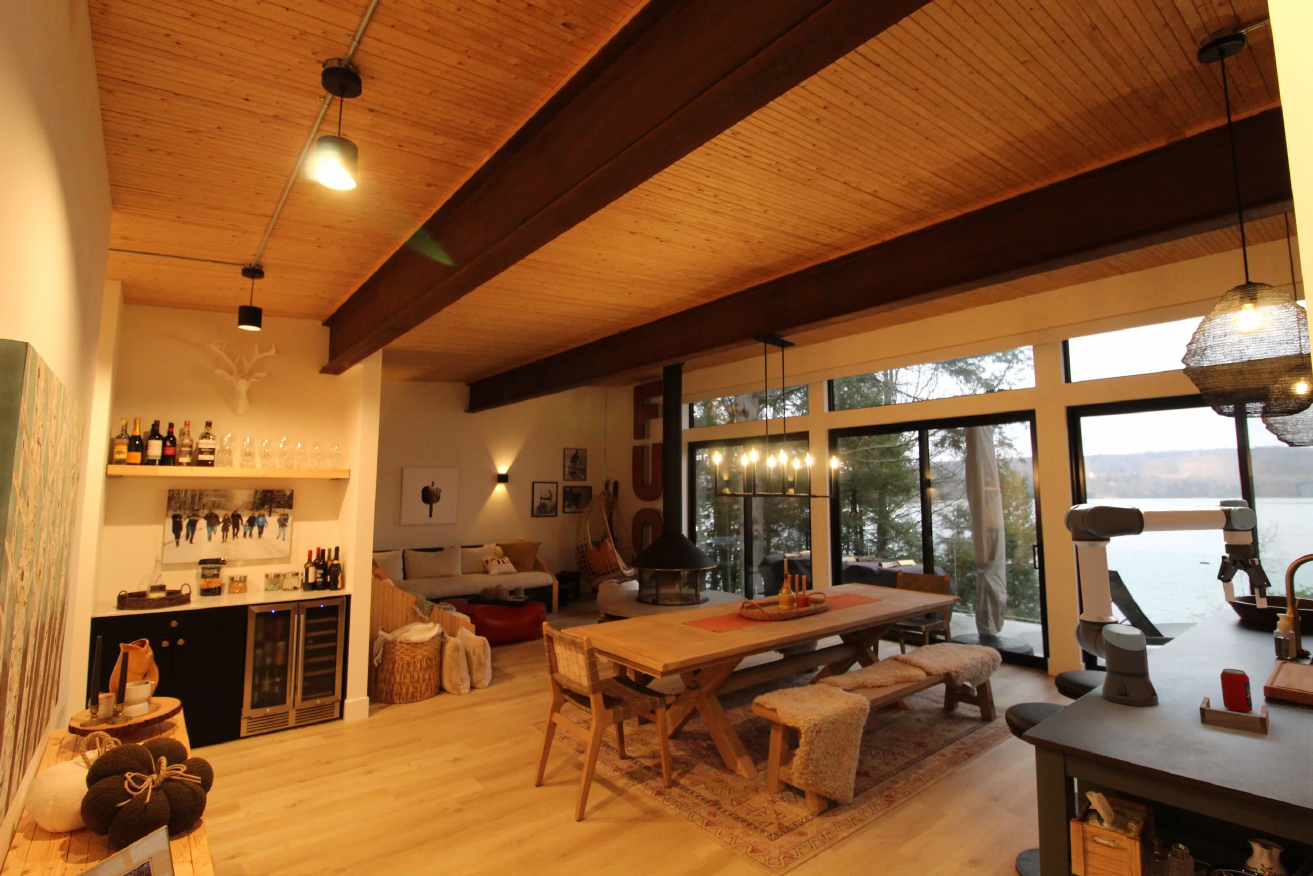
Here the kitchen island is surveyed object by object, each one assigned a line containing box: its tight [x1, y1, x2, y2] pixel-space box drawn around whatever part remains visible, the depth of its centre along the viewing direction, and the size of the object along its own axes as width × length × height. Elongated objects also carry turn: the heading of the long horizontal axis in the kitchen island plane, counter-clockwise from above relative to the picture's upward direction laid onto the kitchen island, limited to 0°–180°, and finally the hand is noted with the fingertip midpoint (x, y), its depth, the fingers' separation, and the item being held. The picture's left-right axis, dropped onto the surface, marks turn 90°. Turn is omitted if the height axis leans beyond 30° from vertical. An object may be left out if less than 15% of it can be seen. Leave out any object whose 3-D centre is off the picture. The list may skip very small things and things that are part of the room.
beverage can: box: [1220, 668, 1253, 714], centre depth 201 cm, size 7×7×12 cm
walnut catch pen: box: [1199, 696, 1270, 735], centre depth 190 cm, size 13×14×4 cm
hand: (1245, 604), depth 225 cm, fingers open, 13 cm apart
